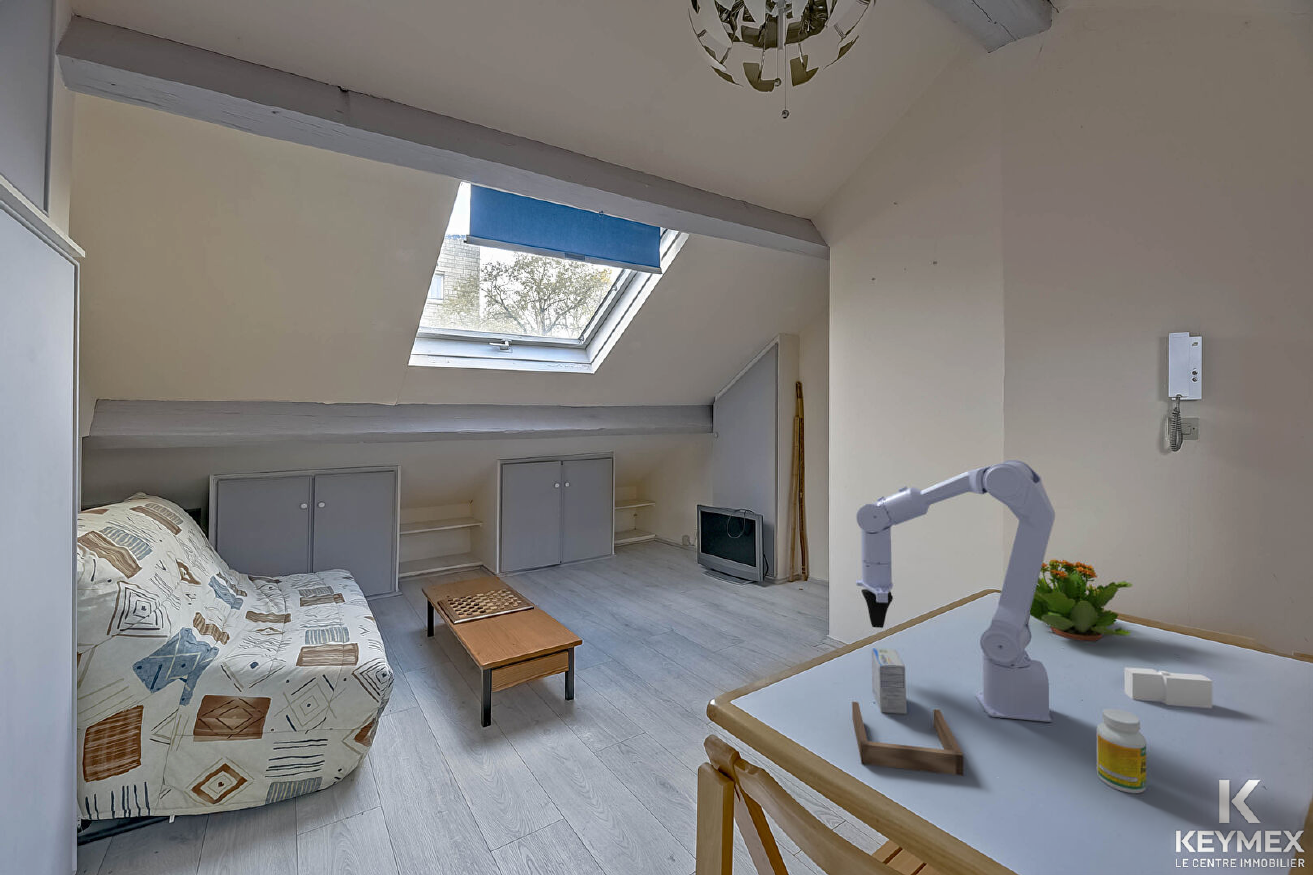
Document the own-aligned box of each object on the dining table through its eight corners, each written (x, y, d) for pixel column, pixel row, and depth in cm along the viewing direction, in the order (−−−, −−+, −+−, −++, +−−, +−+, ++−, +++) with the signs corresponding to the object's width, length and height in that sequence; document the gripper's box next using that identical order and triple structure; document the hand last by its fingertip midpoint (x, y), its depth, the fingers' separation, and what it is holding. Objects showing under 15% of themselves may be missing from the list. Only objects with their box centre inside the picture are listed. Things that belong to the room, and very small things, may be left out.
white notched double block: (1225, 706, 98) (1225, 674, 98) (1216, 729, 91) (1216, 695, 91) (1117, 677, 110) (1117, 649, 109) (1102, 696, 102) (1102, 665, 102)
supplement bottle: (1094, 765, 81) (1094, 702, 81) (1142, 777, 79) (1142, 711, 78) (1099, 786, 77) (1099, 718, 77) (1150, 799, 74) (1150, 729, 74)
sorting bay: (940, 727, 92) (940, 709, 92) (963, 775, 80) (963, 755, 80) (852, 718, 96) (852, 701, 96) (861, 763, 83) (861, 743, 83)
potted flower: (1174, 656, 118) (1174, 575, 117) (1063, 658, 118) (1062, 577, 117) (1085, 615, 143) (1085, 548, 142) (993, 617, 143) (992, 550, 142)
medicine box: (906, 715, 97) (906, 666, 96) (879, 713, 98) (879, 664, 97) (896, 693, 104) (896, 648, 104) (871, 691, 105) (871, 646, 105)
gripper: (852, 552, 121) (852, 613, 121) (860, 569, 107) (860, 638, 107) (886, 553, 119) (887, 615, 120) (899, 570, 105) (899, 640, 106)
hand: (877, 626), depth 113 cm, fingers closed
